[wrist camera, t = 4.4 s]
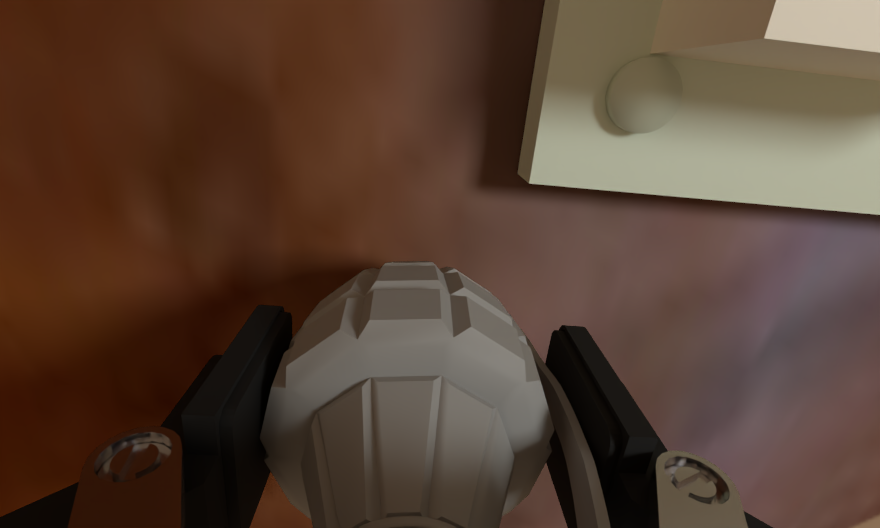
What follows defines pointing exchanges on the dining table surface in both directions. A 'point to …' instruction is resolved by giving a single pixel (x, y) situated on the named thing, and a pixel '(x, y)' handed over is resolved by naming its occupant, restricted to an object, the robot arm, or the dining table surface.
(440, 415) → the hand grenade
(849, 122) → the base plate
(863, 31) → the cream brick
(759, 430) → the dining table surface
